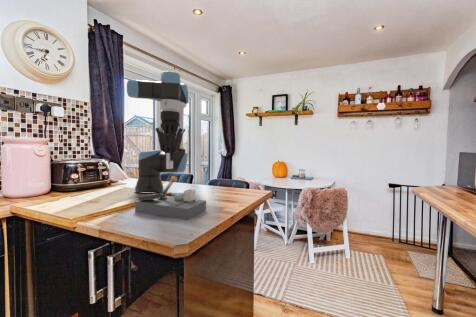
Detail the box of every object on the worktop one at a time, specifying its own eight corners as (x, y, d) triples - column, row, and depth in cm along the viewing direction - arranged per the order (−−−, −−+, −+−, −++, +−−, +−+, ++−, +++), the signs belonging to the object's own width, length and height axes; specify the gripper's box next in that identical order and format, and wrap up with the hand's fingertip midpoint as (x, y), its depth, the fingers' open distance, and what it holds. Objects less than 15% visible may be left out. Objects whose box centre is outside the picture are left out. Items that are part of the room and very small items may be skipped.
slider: (189, 198, 100) (189, 188, 100) (195, 199, 99) (195, 189, 99) (183, 200, 97) (183, 190, 96) (190, 201, 96) (190, 191, 95)
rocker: (147, 198, 99) (146, 194, 99) (160, 197, 97) (160, 192, 97) (138, 200, 95) (137, 196, 95) (152, 199, 92) (152, 195, 92)
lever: (161, 194, 102) (175, 174, 99) (165, 198, 101) (179, 178, 99) (157, 195, 100) (171, 175, 97) (161, 199, 99) (175, 179, 96)
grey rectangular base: (158, 203, 107) (158, 190, 107) (205, 210, 99) (206, 195, 99) (135, 211, 94) (135, 196, 94) (187, 219, 86) (187, 203, 86)
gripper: (151, 110, 96) (150, 168, 98) (178, 109, 91) (177, 170, 93) (162, 112, 103) (162, 166, 105) (189, 112, 98) (188, 168, 100)
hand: (169, 168), depth 99 cm, fingers closed
